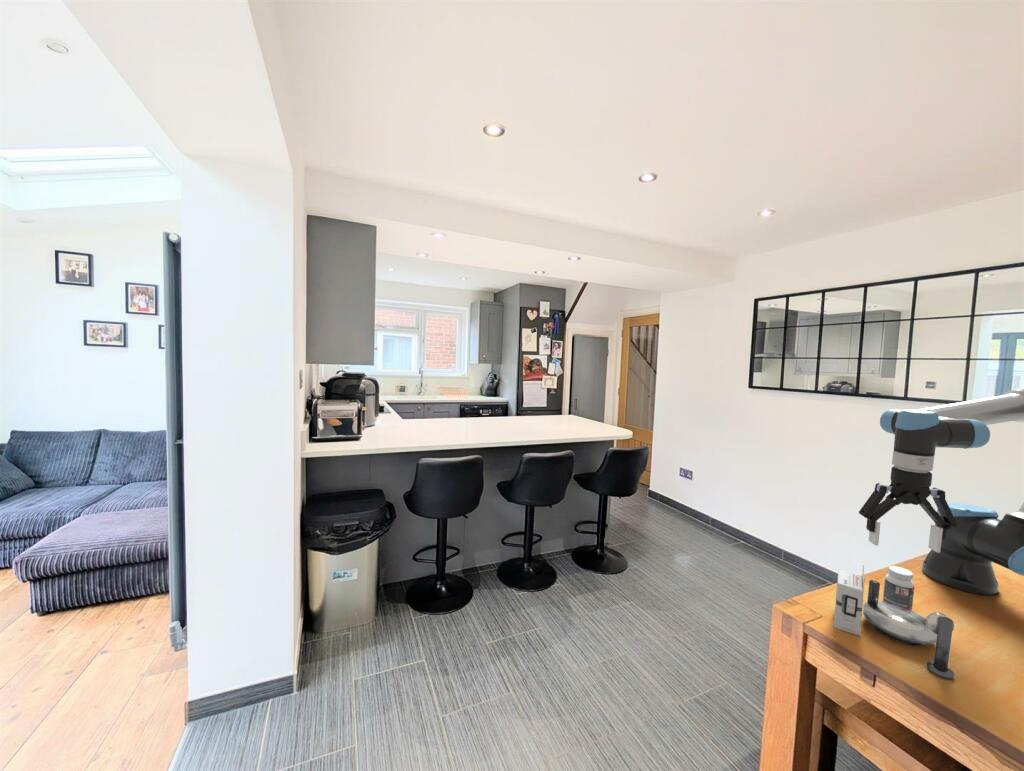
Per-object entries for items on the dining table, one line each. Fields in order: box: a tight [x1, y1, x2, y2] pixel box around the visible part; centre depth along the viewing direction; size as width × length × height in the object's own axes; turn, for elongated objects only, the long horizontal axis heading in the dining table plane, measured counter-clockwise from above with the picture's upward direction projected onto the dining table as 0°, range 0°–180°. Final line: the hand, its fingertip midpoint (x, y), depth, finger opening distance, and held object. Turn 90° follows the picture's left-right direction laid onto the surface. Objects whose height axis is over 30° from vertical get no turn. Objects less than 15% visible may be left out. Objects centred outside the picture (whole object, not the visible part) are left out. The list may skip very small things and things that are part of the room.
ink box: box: [833, 564, 866, 637], centre depth 97 cm, size 8×5×15 cm, turn 140°
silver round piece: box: [862, 579, 937, 645], centre depth 95 cm, size 13×13×8 cm
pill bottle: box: [882, 565, 915, 611], centre depth 105 cm, size 6×6×10 cm
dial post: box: [925, 612, 955, 681], centre depth 83 cm, size 4×4×12 cm
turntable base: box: [872, 624, 924, 647], centre depth 95 cm, size 9×9×2 cm
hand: (903, 546), depth 104 cm, fingers open, 13 cm apart
